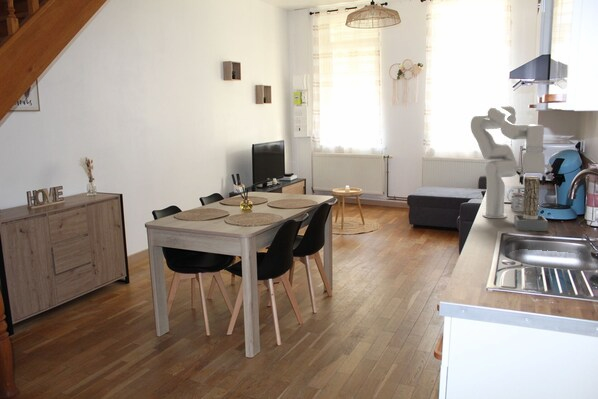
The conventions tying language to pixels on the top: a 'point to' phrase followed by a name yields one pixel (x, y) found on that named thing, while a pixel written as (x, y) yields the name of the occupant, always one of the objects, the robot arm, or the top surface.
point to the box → (530, 223)
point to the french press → (517, 198)
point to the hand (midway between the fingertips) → (532, 184)
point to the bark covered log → (531, 198)
